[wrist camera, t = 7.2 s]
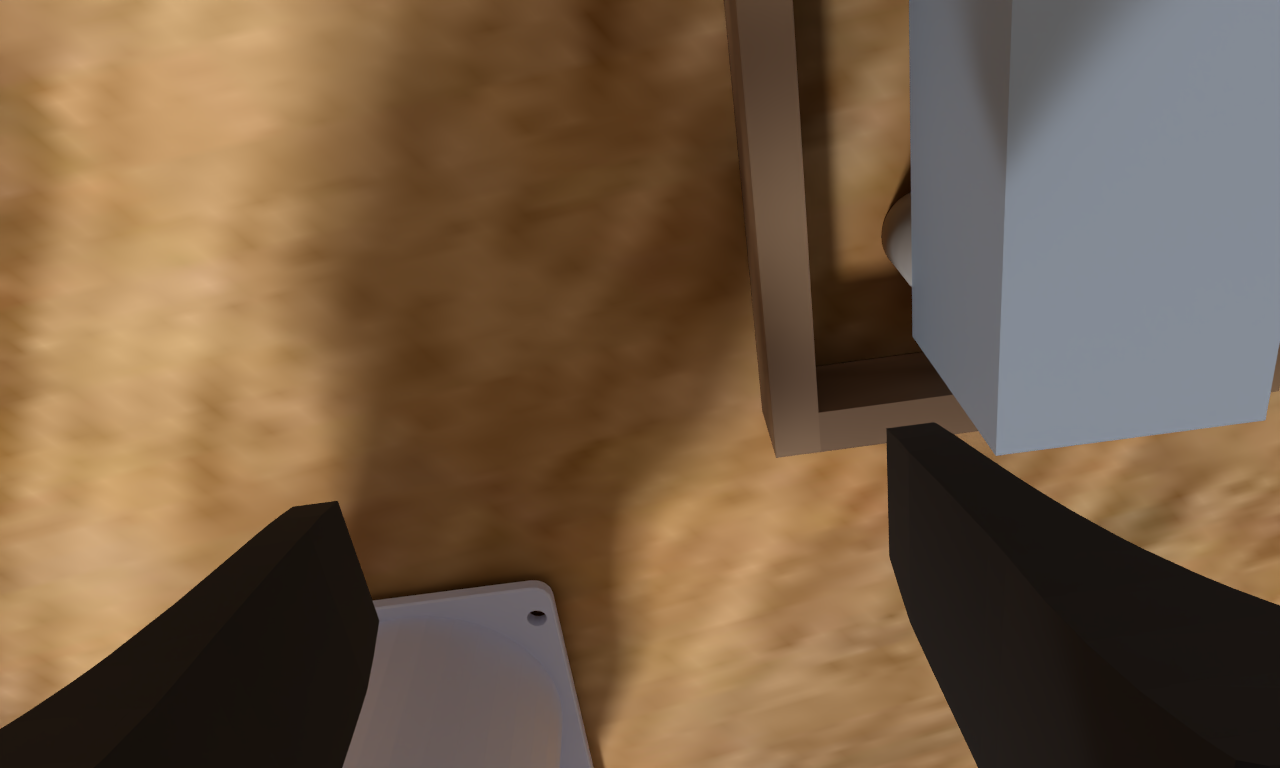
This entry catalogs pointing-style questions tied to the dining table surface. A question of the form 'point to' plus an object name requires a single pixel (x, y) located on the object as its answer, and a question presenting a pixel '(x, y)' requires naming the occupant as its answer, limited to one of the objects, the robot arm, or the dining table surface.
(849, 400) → the peg frame
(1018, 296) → the blue-grey rectangular block
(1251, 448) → the dining table surface
